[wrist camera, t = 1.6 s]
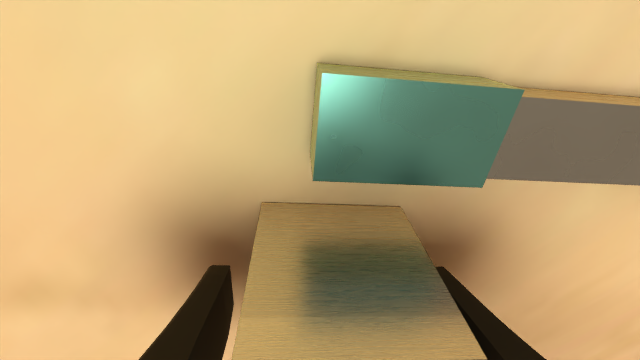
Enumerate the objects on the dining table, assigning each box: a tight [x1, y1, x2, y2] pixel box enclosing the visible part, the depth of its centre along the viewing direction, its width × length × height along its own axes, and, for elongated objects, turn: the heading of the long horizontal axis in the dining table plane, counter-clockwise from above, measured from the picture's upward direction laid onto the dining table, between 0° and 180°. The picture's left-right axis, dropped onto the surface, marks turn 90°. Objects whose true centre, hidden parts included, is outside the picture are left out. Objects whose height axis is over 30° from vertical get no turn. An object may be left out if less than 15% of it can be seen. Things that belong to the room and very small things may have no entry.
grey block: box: [232, 202, 487, 360], centre depth 9 cm, size 5×5×6 cm
